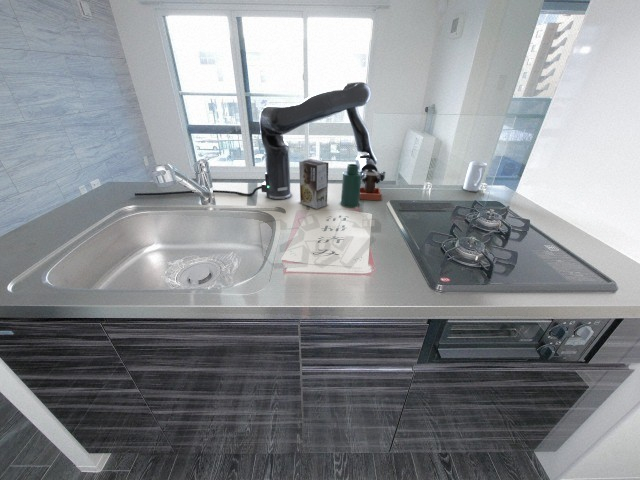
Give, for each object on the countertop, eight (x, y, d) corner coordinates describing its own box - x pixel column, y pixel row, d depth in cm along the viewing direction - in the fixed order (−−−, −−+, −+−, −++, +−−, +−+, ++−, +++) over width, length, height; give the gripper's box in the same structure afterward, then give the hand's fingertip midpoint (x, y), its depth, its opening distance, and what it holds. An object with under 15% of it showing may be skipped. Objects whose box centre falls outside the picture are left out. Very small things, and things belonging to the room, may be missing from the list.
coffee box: (327, 205, 102) (329, 162, 94) (316, 209, 98) (317, 165, 90) (311, 198, 107) (311, 158, 100) (299, 203, 103) (298, 160, 95)
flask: (340, 206, 101) (343, 167, 93) (341, 200, 107) (343, 162, 99) (358, 207, 100) (362, 168, 93) (358, 201, 106) (362, 163, 99)
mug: (460, 186, 126) (468, 161, 120) (475, 187, 126) (483, 161, 120) (468, 193, 118) (476, 166, 112) (484, 194, 117) (493, 167, 111)
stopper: (363, 196, 110) (365, 175, 105) (363, 193, 114) (365, 172, 109) (374, 197, 109) (377, 175, 105) (373, 193, 113) (376, 172, 109)
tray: (357, 199, 108) (358, 193, 107) (357, 192, 116) (357, 186, 114) (380, 200, 108) (381, 194, 107) (378, 193, 115) (379, 188, 114)
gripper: (353, 160, 119) (354, 170, 104) (385, 162, 118) (390, 172, 103) (351, 177, 123) (352, 188, 108) (383, 178, 122) (388, 190, 107)
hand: (371, 180), depth 106 cm, fingers closed on stopper, 4 cm apart
